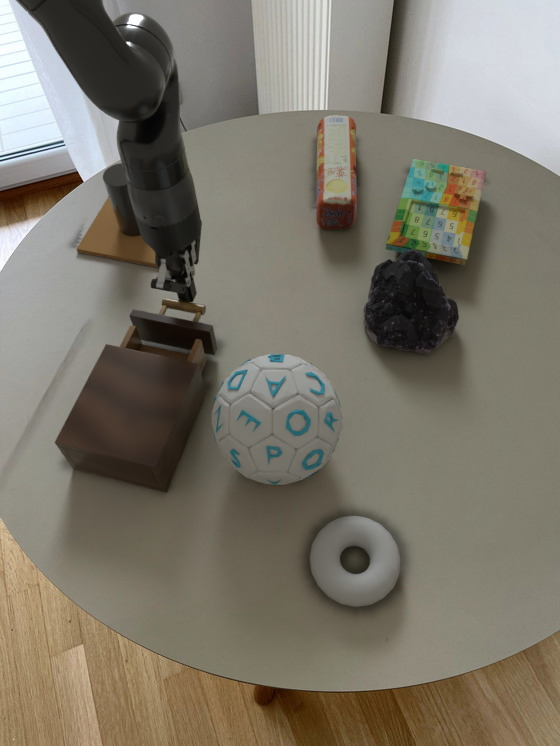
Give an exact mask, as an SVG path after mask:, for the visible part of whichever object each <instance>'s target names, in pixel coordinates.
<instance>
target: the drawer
mask: <svg viewBox="0 0 560 746" xmlns="http://www.w3.org/2000/svg"><path fill="white" fill-rule="evenodd" d="M169 309H170V310H174V311H180V312H185V313H190V314H195V315H194V317H193V320H190V319H184V318H180V317H174V316H171V315H170V316H169V315H165V314H166V312H167V310H169ZM206 310H207V306H206V305H205V304H201V303H195V302H185V301H180V300H179V299H177V298H176V299H175V298H171V297H165V296H164V297H163V298H162V300H161V307H160V310H159V312H158V313H154V312H149V311H145V310H139V309H135V308H132V309H131V312H130V314H129V319H130V321H131V324H132V325H129V327H128V329H127V331H126V333H125V335H124V337H123V339H122V341H121V343H120V345H119V347H122V348H127V349H132V350H136V351H141V352H146V353H150V354H155V355H160V356H164V357H169V358H174V359H178V360H183V361H188V362H192V363H197V364H199V368H200V372H201V374H202V373H203V370H204V368H205V365H206V364H207V358H206V355H211V356H216V354H217V351H218V345H217V341H216V335H215V330H214V325H213V324H210V323H205V322H199V321H200V319H201V317H202V316H204V315H205V314H206ZM142 341H145V342H150V343H155V344H160V345H164V346H167V347H168V346H169V347H173V348H178V349H183V350H187V351H190V352H189V353H185V352H181V351H176V350H171V349H168V348H167V349H166V348H163V347H158V346H153V345H149V344H145V343H144V344H143V342H142Z"/></svg>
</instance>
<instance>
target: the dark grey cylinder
mask: <svg viewBox="0 0 560 746" xmlns="http://www.w3.org/2000/svg"><path fill="white" fill-rule="evenodd" d="M102 180H103V184H104V187H105V190H106V192H107V195H108V196H107V197H109V199H110V202H111V205H112V208H113V211H114V214H115V217H116V220H117V223H118V226H119V229H120V231H121V232H122V233H123V234H124V235H127V236H139V235H141V234H140V231H139V227H138V224H137V221H136V217H135V214H134V210H133V207H132V204H131V200H130V197H129V193H128V187H127V179H126V176H125V172H124V169H123V166H122V162H119V163H115V164H112V165H111V166H109V167H108V168H106V169H105V171H104V172H103V175H102Z"/></svg>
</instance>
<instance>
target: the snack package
mask: <svg viewBox="0 0 560 746" xmlns="http://www.w3.org/2000/svg"><path fill="white" fill-rule="evenodd" d="M356 135H357V125H356V122H355V120H354V119H353V118H352V117H350V116H348V115H347V116H346V115H336V114H335V115H333V114H332V115H328V116H325V117H323V118H321V119H320V121H319V123H318V124H317V126H316V145H317V146H316V161H315V162H316V164H315V165H316V194H315V195H316V200H315V201H316V205H315V206H316V207H315V208H316V209H315V214H316V215H315V216H316V224H317V226H318V227H319V228H321V229H323V230H331V231H332V230H334V231H335V230H346V229H350V228H351V227H352V226H353V225H354V223H355V222H356V219H357V211H358V209H357V208H358V195H357V194H358V193H357V190H358V188H357V151H356V150H357V147H356V144H357V143H356Z"/></svg>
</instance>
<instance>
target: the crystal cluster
mask: <svg viewBox="0 0 560 746" xmlns="http://www.w3.org/2000/svg"><path fill="white" fill-rule="evenodd" d="M440 283H441V282H440V279H439V277H438V275H437V273H435V271H434V267H433V265H432V263H431V262H430V261H429V260H428V258H426V257H424V256H423V255H422V254H421V253H420V252H419V251H417V250H414V249H410V250H407V251H405V252H404V253H401V254H400V255H399V256H398V259H396V261H394V260H392V259H387V260H384V261H383V262H380V263H379V264H378V265H377V264H376V266H375V268H374V271H373V274H372V276H371V279H370V287H369V289H368V294H367V302H366V303H365V306H364V307H363V314H364V319H363V325H364V327H365V328H366V333H367V335H368V337H369V338H370V340H371V341H372V342H373V343H375V345H377V346H379V347H384V348H391V347H392V348H395V349H397V350H400V351H409V352H411V351H412V352H415V353H419V354H422V355H423V354H424V355H430V354H431V353H432V352H433V351H435V350H437V348H438V347H441V345H442V344H443V342H445V341H446V340H448V339H450V338H452V337H453V336H454V331H455V328H456V326H457V325H458V322H459V320H460V319H459V318H460V314H459V307H458V304H457V302H456V300H455V299H454V298H451V297H447V296H446V292H445V291H444V288H443V286H442V285H440Z"/></svg>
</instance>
